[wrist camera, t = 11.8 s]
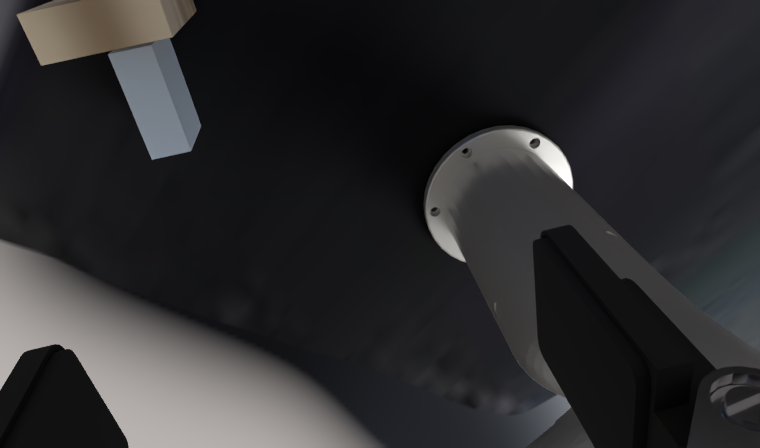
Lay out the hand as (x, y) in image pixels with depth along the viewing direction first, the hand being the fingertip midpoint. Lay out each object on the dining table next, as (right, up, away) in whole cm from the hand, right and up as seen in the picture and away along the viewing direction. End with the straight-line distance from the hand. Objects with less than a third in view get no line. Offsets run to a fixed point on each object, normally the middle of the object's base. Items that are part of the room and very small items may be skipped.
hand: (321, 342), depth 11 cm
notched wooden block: (-15, +17, +26) cm, 34 cm away
